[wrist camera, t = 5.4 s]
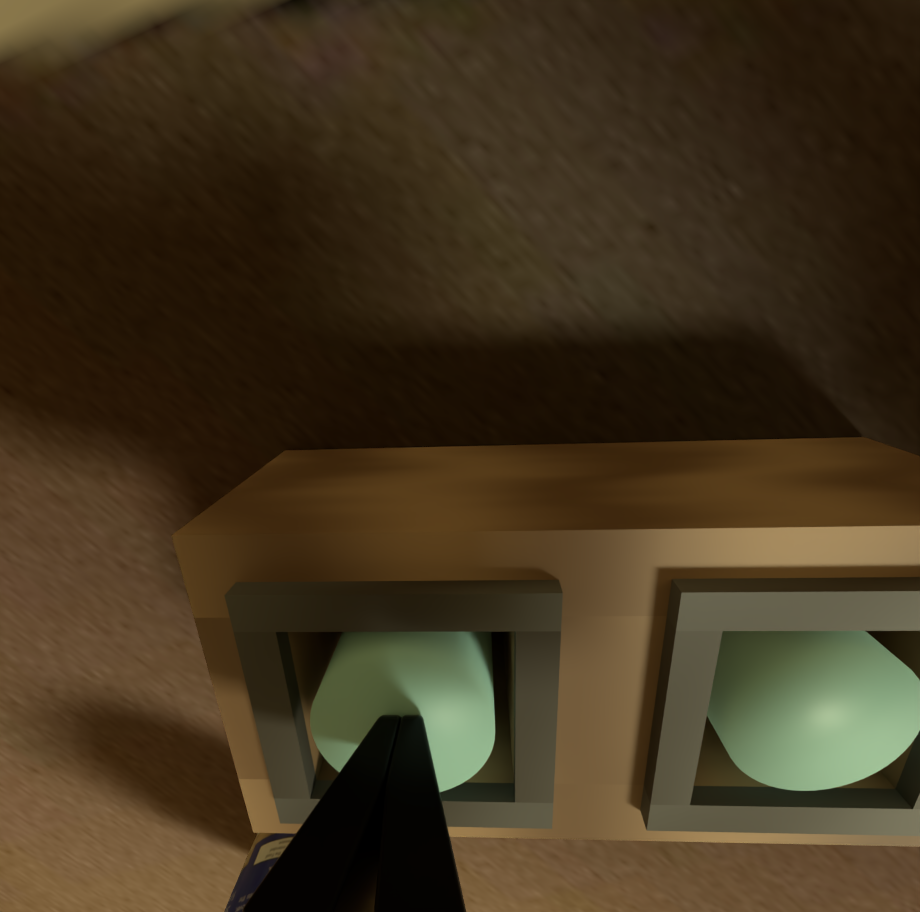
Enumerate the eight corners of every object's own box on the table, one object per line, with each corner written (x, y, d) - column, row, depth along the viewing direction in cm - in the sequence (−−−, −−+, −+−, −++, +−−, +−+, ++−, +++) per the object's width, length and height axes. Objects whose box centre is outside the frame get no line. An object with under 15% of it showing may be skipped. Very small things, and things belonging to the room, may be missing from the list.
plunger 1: (487, 521, 13) (494, 656, 8) (489, 624, 14) (496, 797, 9) (365, 523, 13) (296, 656, 8) (377, 624, 14) (323, 794, 9)
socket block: (864, 437, 12) (1151, 535, 7) (801, 670, 15) (976, 868, 9) (285, 450, 13) (156, 546, 8) (322, 669, 15) (245, 852, 10)
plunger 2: (768, 514, 13) (953, 647, 8) (746, 618, 14) (896, 792, 9) (640, 516, 13) (741, 647, 8) (629, 618, 14) (711, 789, 9)
